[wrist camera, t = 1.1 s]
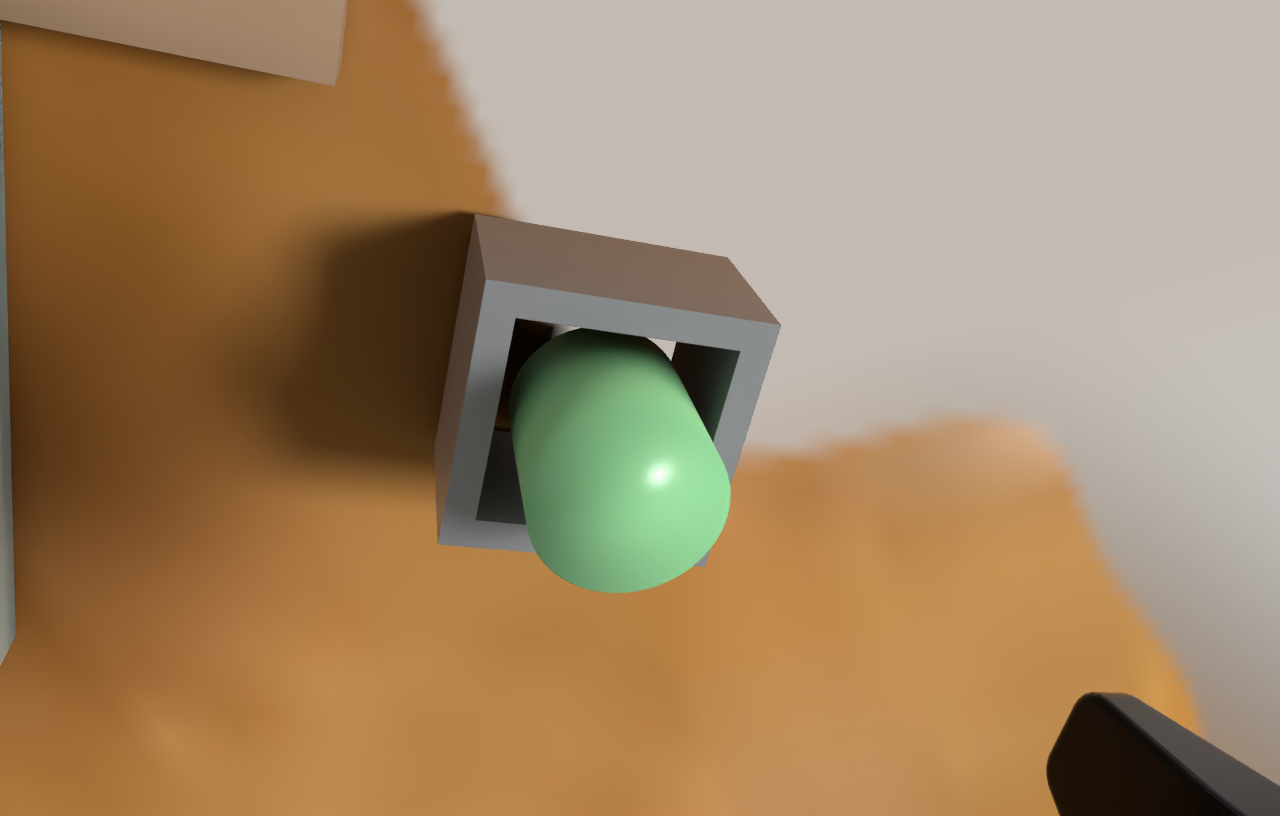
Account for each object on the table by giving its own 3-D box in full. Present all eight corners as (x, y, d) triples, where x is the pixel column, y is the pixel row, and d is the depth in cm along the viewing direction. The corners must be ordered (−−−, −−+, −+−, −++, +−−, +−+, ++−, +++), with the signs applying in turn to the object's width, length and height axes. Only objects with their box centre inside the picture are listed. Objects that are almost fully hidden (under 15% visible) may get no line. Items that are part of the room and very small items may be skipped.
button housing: (666, 473, 20) (704, 566, 17) (433, 448, 19) (438, 544, 16) (727, 257, 18) (781, 325, 15) (474, 213, 17) (486, 278, 14)
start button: (658, 489, 18) (700, 599, 15) (493, 471, 17) (508, 585, 14) (700, 339, 16) (754, 430, 14) (525, 313, 16) (549, 404, 13)
